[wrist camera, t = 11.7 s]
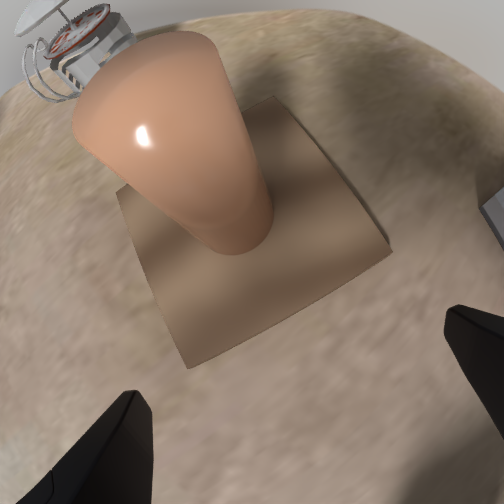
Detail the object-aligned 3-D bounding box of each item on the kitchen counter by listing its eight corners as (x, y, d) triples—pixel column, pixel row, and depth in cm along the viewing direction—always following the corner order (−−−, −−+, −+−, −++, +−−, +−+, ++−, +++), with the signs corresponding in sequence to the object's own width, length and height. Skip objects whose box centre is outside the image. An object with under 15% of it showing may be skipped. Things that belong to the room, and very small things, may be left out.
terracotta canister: (289, 205, 18) (254, 46, 7) (239, 271, 18) (126, 181, 7) (228, 167, 20) (149, 24, 8) (181, 226, 20) (52, 121, 8)
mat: (389, 255, 17) (392, 251, 17) (193, 367, 18) (187, 369, 17) (275, 104, 22) (273, 96, 21) (122, 197, 23) (115, 192, 22)
